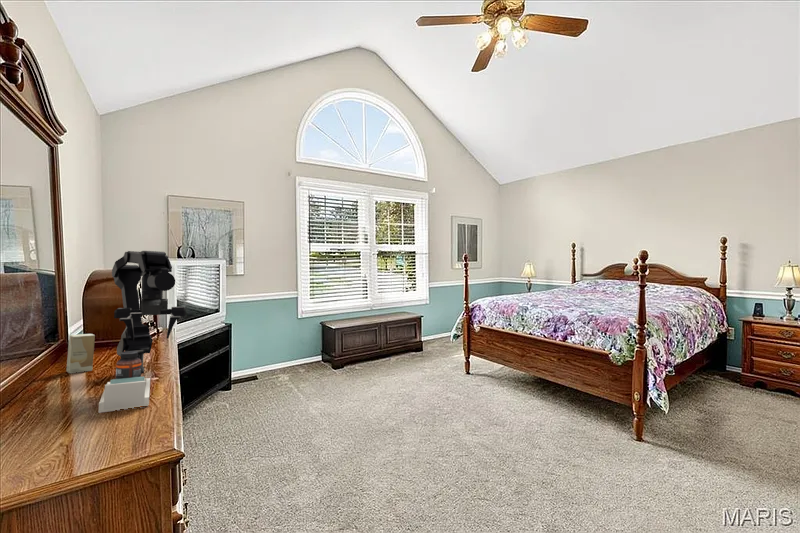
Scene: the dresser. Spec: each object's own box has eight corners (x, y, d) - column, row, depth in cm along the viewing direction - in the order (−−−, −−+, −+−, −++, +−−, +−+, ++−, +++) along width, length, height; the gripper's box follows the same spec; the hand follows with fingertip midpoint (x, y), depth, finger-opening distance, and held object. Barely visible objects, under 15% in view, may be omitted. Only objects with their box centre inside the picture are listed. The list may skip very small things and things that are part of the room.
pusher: (110, 396, 104) (110, 379, 104) (143, 392, 108) (144, 376, 108) (109, 399, 102) (109, 382, 102) (143, 395, 106) (144, 378, 106)
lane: (107, 390, 111) (108, 367, 111) (149, 385, 116) (151, 364, 117) (98, 412, 94) (99, 386, 95) (148, 406, 100) (149, 381, 100)
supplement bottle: (143, 388, 112) (145, 349, 112) (136, 394, 107) (138, 354, 107) (119, 389, 110) (121, 350, 111) (111, 395, 105) (113, 354, 105)
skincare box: (69, 374, 125) (71, 336, 125) (65, 371, 128) (67, 335, 128) (93, 370, 130) (95, 334, 130) (89, 368, 133) (91, 333, 133)
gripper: (113, 291, 110) (111, 345, 109) (187, 290, 120) (185, 340, 119) (117, 290, 119) (115, 340, 119) (185, 289, 129) (183, 336, 129)
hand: (150, 339), depth 121 cm, fingers open, 9 cm apart
